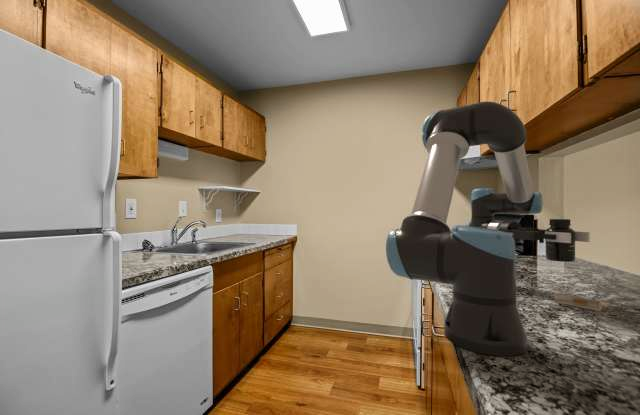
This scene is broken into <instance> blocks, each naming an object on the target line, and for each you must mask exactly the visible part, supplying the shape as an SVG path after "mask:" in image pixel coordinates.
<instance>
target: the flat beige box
mask: <svg viewBox="0 0 640 415" xmlns="http://www.w3.org/2000/svg"><path fill="white" fill-rule="evenodd" d="M553 296H554V303H558V304H561V305H562V304H563V305H568V306H572V307H578V308H581V309H582V308H583V309H586V310H591V311H596V312H600V311H602V310H604V309H605V308H608V307H611V305H612V303H611V302H609V301H603V300H598V299H593V298H588V297H587V298H586V297H582V296H576V295H575V296H574V295H570V294H565V293H559V292H554V295H553Z"/></svg>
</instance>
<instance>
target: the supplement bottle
mask: <svg viewBox="0 0 640 415" xmlns="http://www.w3.org/2000/svg"><path fill="white" fill-rule="evenodd" d="M548 226H550V227H548V228H546V229H545V230H546V232H561V233H571V243H562V242H551V241H545V259H546V260H548V261H552V262H563V263H572V262H573V263H574V262H575V260H576V241H575V231H576V230H574V229H573V228H571V227H570V226H571V219H570V218H569V219H568V218H549V224H548Z"/></svg>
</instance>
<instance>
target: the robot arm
mask: <svg viewBox="0 0 640 415" xmlns="http://www.w3.org/2000/svg"><path fill="white" fill-rule="evenodd" d="M421 130H422V131H421V132H422V134H421V140H422V143H423V146H424V148H425V150H426V151H427V153H428V156H427V159H426V162H425V166H424V169H423V172H422V175H421V176H422V177H421V179H420V184H419V187H418V190H417V192H416V196H415V200H414V203H413V206H412V211H411V214H409V215H407V216H406V217H404V218H403V220H402V222H401V226H400V228H394V229H391V230H390V231H389V233H388V235H387V237H386V243H385V254H386V260H387V265H388V266H389V269H390V270H391V271H392V273H393V274H395V275H396V276H398V277H401V278H406V279H409V280H418V281H425V282H433V283H437V284H438V283H439V284H444V285H445V284H447V285H451V286H452V300H451V302H450V306H449V309H448V311H447V314H446V318H445V320H444V325H443V328H444V329H443V332H444V334H443V335H444V337H445V339H446V340H447V341H449V342H451V343H452V344H453V345H455V346H458V347H460V348H462V349H464V350H467V351H471V352H474V353H478V354H482V355H483V354H484V355H487V356H488V355H490V356H499V357H510V356H511V357H513V356H519V355H523V354H524V353H526V352H527V350H528V335H527V332H526V330H525V327H524V324H523V322H522V319H521V316H520V313H519V310H518V308H517V307H518V306H517V265H516V264H517V263H516V262H517V258H518V255H517V253H516V244H518V243H520V241H527V240H530V241H535V242H536V241H538V243H539V244H544V243H545V242H546V241H551V242H562V243H571V233H561V232H546V230H547V229H542V228H541V229H540V228H536V227H530V226H529V227H527V226H524V227H523V226H522V225H521V224H520V222H518V221H514V220H513V221H511V220H510V221H509V220H508V221H505V220H495V219H494V218H495V214H496V215H497V214H498V215H499V214H501V215H502V214H503V215H505V214H507V215H510V214H511V215H532V214H541V213H542V212H543V194H542V193H541V192H540V191H534V190H533V189H534V188H533V186H532V185H533V184H532V179H531V173H530V169H529V165H528V164H529V163H528V158H527V154H526V148H525V144H526V141H527V139H528V135H527V129H526V127H525V124H524V123H523V121H522V120H521V118H520V117H519V116H518V114H516V112H514V111H513V110H512V109H510V108H509V107H508V106H505V105H504V104H501V103H499V102H498V103H497V102H495V101H488V100H487V101H480V102H476V103H472V104H466V105H461V106H457V107H452V108H447V109H440V110H438V111H436V112H433V113H430V114H429V115H428V116H427V117H426V118H425V120H424V122H423V125H422V129H421ZM481 145H487V146H488V149H490V151H492V152H493V153H494V157H495V159H496V163H497V166H498V170H499V173H500V177H501V180H502V184H503V186H504V189H505V192H495V191H494V188H491V187H490V188H488V187H487V188H475V189H473V190H472V191H471V197H470V198H471V200H470V203H471V209H470V210H471V219H470V220H468V221H467V222H466V224H465V225H458V224H457V225H456V224H455V225H453V226H452V228H450V226H449V225H448V224H447V220H448V217H449V212H450V207H451V202H452V198H453V193H454V191H455V187H456V181H457V177H458V172H459V167H460V165H461V164H460V163H461V159H463V158H464V157H465V156H467V154H468V153H469V150H470V147H475V146H481ZM574 231H575V242H584V243H585V242H586V243H590V242H591V241H590V239H591V238H590V236H591V235H590V232H589V231H576V230H574Z"/></svg>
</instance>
